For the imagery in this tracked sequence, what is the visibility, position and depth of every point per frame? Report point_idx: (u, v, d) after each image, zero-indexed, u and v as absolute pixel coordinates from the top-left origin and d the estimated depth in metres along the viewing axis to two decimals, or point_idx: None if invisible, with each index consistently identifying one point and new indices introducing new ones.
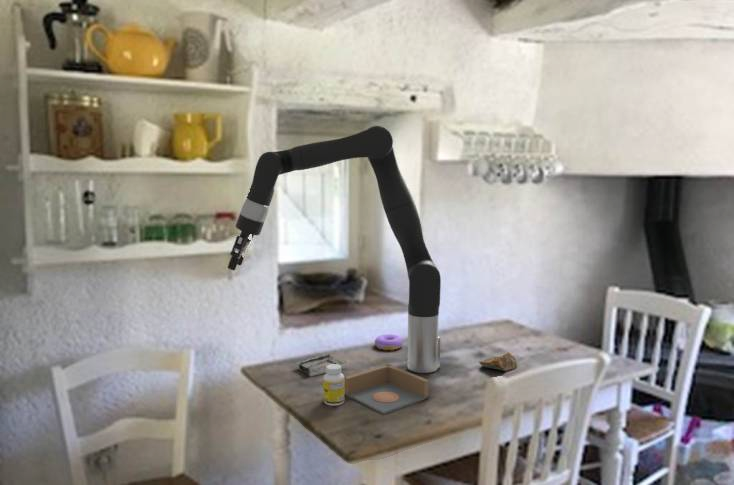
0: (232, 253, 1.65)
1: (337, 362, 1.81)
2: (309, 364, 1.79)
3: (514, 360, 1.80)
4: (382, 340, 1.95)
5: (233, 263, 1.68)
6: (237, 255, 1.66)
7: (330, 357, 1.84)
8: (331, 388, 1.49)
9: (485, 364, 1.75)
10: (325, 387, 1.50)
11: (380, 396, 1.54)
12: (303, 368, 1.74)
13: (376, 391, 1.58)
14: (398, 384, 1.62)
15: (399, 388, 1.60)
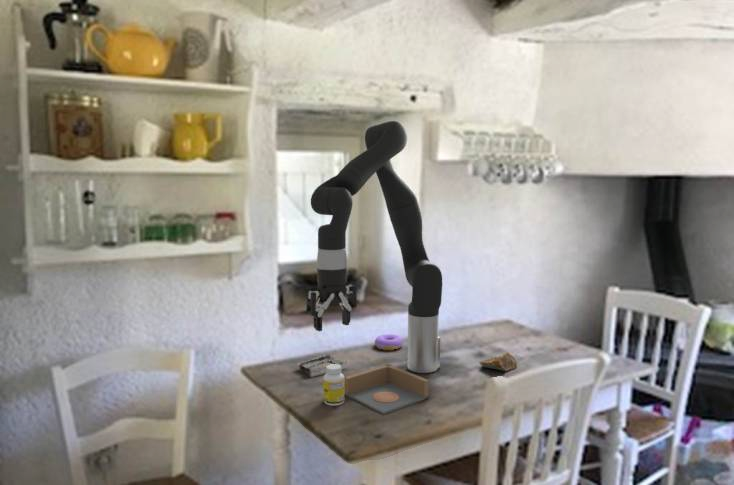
0: None
1: (338, 362, 1.81)
2: (310, 365, 1.79)
3: (514, 360, 1.80)
4: (382, 340, 1.95)
5: None
6: None
7: (330, 358, 1.84)
8: (331, 388, 1.49)
9: (486, 364, 1.75)
10: (325, 387, 1.50)
11: (380, 396, 1.54)
12: (304, 368, 1.74)
13: (376, 391, 1.58)
14: (398, 384, 1.62)
15: (399, 388, 1.60)
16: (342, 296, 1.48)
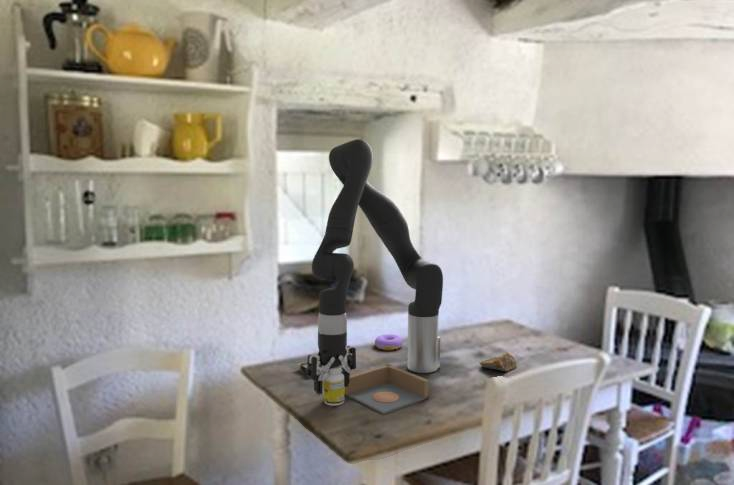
0: None
1: None
2: None
3: (513, 360, 1.80)
4: (382, 340, 1.95)
5: None
6: None
7: None
8: (331, 388, 1.49)
9: (486, 365, 1.74)
10: (325, 387, 1.50)
11: (380, 396, 1.54)
12: (304, 369, 1.73)
13: (376, 391, 1.58)
14: (398, 384, 1.62)
15: (399, 388, 1.60)
16: (342, 359, 1.50)
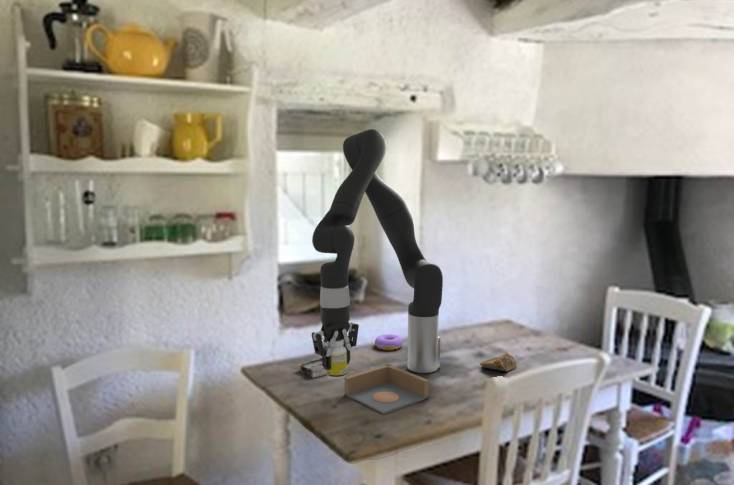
0: None
1: None
2: (310, 365, 1.78)
3: (513, 360, 1.80)
4: (382, 340, 1.95)
5: None
6: None
7: None
8: (333, 361, 1.48)
9: (487, 365, 1.74)
10: None
11: (380, 396, 1.54)
12: (305, 369, 1.73)
13: (376, 391, 1.58)
14: (398, 384, 1.62)
15: (399, 388, 1.60)
16: (345, 333, 1.49)
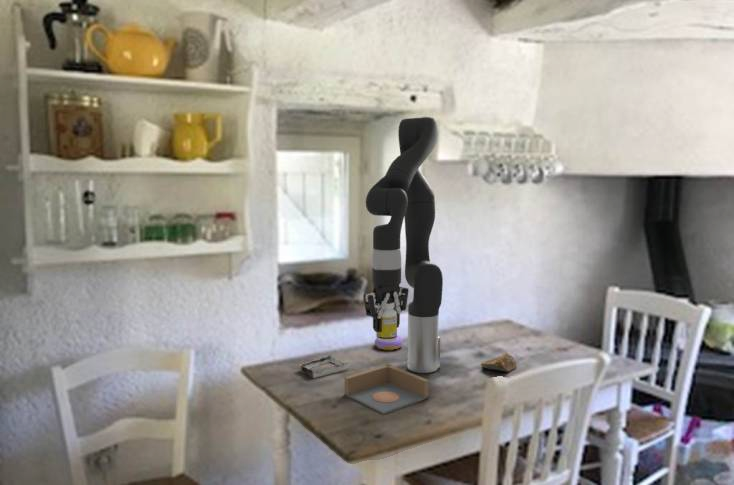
0: None
1: (339, 363, 1.80)
2: (311, 366, 1.78)
3: (513, 360, 1.80)
4: None
5: None
6: None
7: (331, 358, 1.83)
8: (384, 323, 1.49)
9: (488, 366, 1.73)
10: None
11: (380, 396, 1.54)
12: (306, 370, 1.73)
13: (376, 391, 1.58)
14: (398, 384, 1.62)
15: (399, 388, 1.60)
16: (396, 296, 1.50)
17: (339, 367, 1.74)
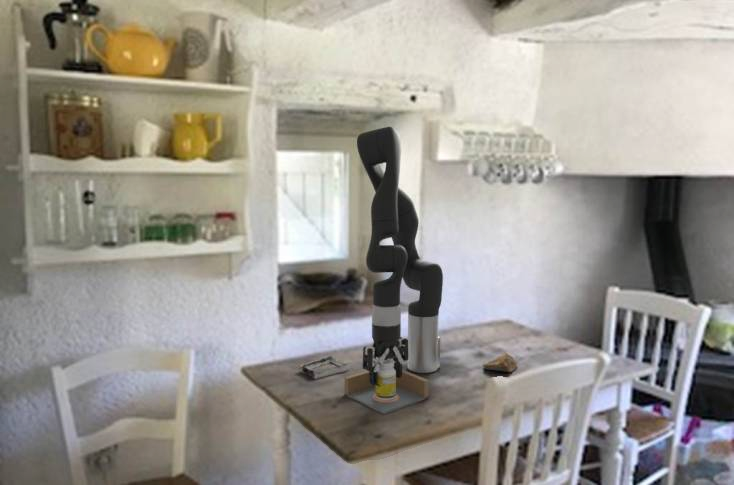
0: None
1: (340, 364, 1.79)
2: (312, 366, 1.77)
3: (514, 360, 1.80)
4: None
5: None
6: None
7: (332, 359, 1.82)
8: (383, 383, 1.51)
9: (491, 367, 1.73)
10: None
11: None
12: (307, 371, 1.72)
13: None
14: (398, 384, 1.62)
15: (399, 388, 1.60)
16: (396, 350, 1.52)
17: (340, 368, 1.74)
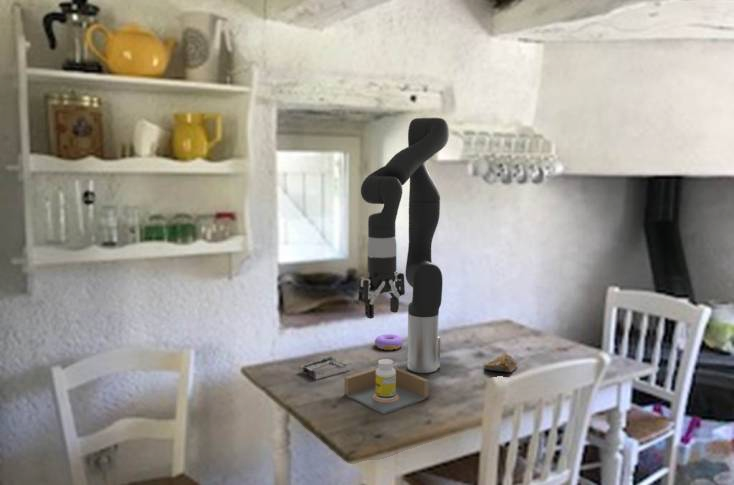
0: None
1: (340, 364, 1.79)
2: (312, 367, 1.76)
3: (513, 360, 1.80)
4: (382, 340, 1.95)
5: None
6: None
7: (332, 359, 1.82)
8: (383, 383, 1.51)
9: (491, 367, 1.72)
10: (377, 382, 1.52)
11: None
12: (308, 371, 1.71)
13: None
14: (398, 384, 1.62)
15: (399, 388, 1.60)
16: (392, 284, 1.51)
17: (341, 368, 1.73)
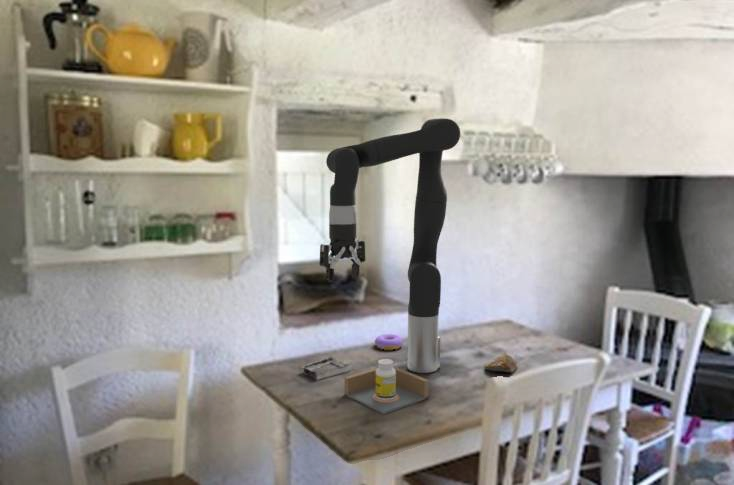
0: None
1: (341, 365, 1.79)
2: (313, 367, 1.76)
3: (513, 360, 1.80)
4: (382, 340, 1.95)
5: None
6: None
7: (333, 360, 1.82)
8: (383, 383, 1.51)
9: (493, 368, 1.72)
10: (377, 382, 1.52)
11: None
12: (309, 372, 1.71)
13: None
14: (398, 384, 1.62)
15: (399, 388, 1.60)
16: (352, 250, 1.60)
17: (342, 368, 1.73)
